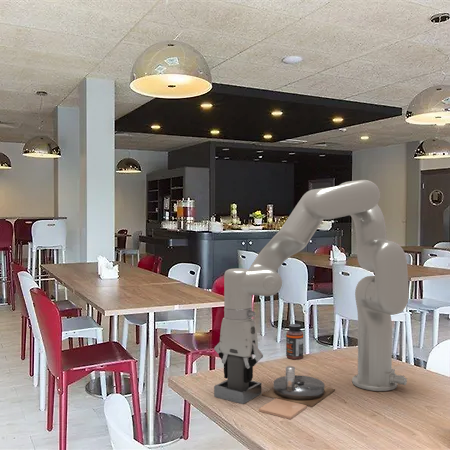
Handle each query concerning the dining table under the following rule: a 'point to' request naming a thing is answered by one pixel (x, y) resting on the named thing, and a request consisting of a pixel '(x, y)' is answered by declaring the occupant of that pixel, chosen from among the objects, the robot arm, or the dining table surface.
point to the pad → (283, 408)
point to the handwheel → (298, 386)
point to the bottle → (236, 372)
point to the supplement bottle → (294, 342)
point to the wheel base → (308, 402)
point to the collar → (237, 392)
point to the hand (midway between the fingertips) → (238, 378)
